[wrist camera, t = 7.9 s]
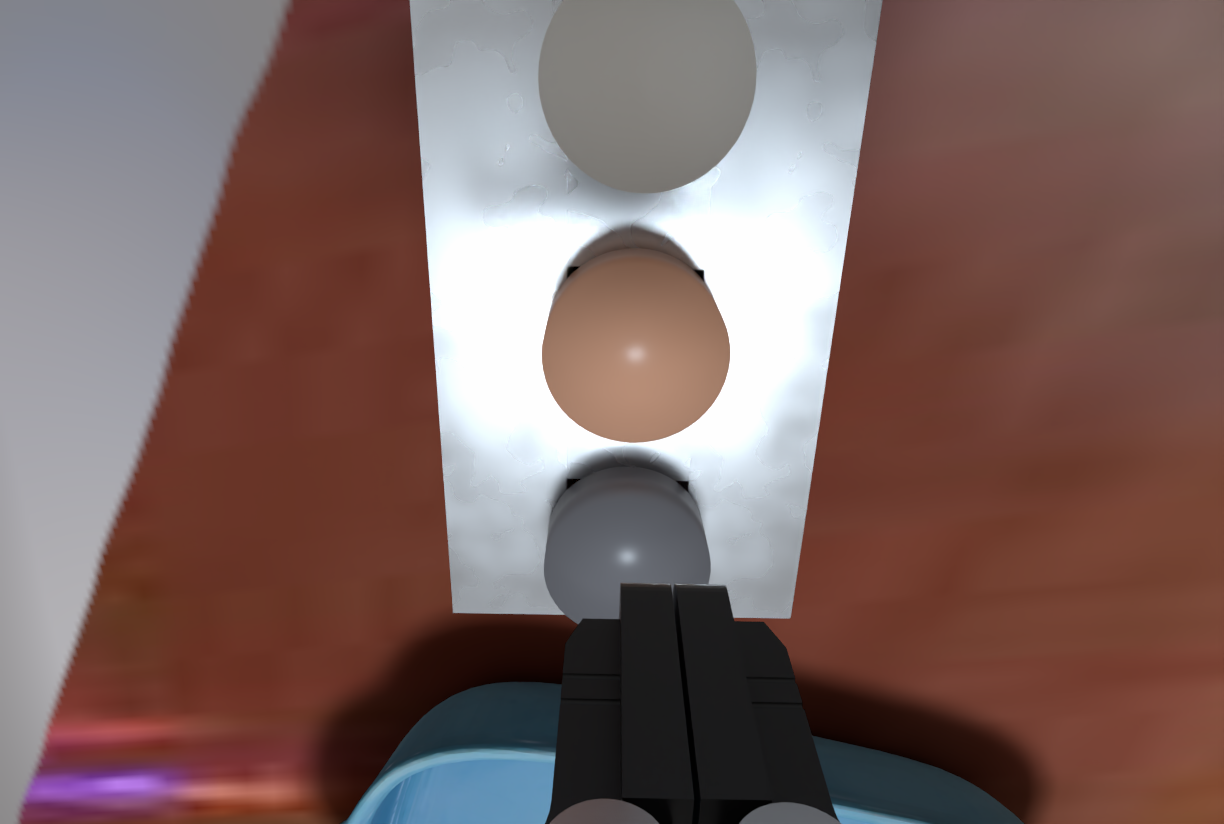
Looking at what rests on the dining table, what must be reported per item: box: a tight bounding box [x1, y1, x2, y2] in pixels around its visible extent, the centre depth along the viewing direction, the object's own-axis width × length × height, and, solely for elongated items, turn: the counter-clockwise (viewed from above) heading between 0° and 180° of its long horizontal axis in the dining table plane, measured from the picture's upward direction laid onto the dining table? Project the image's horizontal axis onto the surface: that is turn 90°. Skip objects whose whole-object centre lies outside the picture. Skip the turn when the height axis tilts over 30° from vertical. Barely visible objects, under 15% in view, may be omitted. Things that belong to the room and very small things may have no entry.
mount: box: [410, 0, 882, 618], centre depth 25 cm, size 12×21×5 cm, turn 179°
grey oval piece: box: [538, 0, 757, 193], centre depth 21 cm, size 5×5×7 cm
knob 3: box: [544, 466, 711, 624], centre depth 27 cm, size 5×5×7 cm
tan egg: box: [541, 248, 731, 443], centre depth 24 cm, size 5×5×7 cm
